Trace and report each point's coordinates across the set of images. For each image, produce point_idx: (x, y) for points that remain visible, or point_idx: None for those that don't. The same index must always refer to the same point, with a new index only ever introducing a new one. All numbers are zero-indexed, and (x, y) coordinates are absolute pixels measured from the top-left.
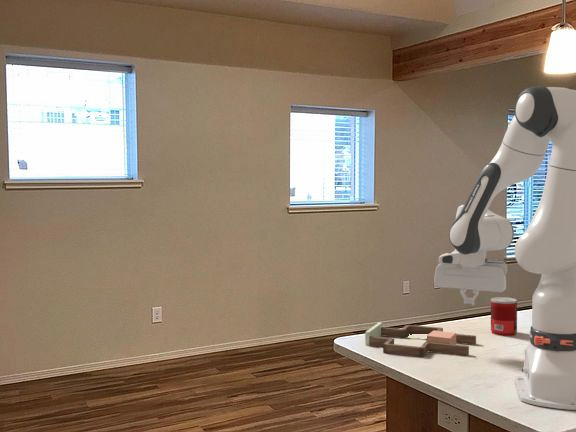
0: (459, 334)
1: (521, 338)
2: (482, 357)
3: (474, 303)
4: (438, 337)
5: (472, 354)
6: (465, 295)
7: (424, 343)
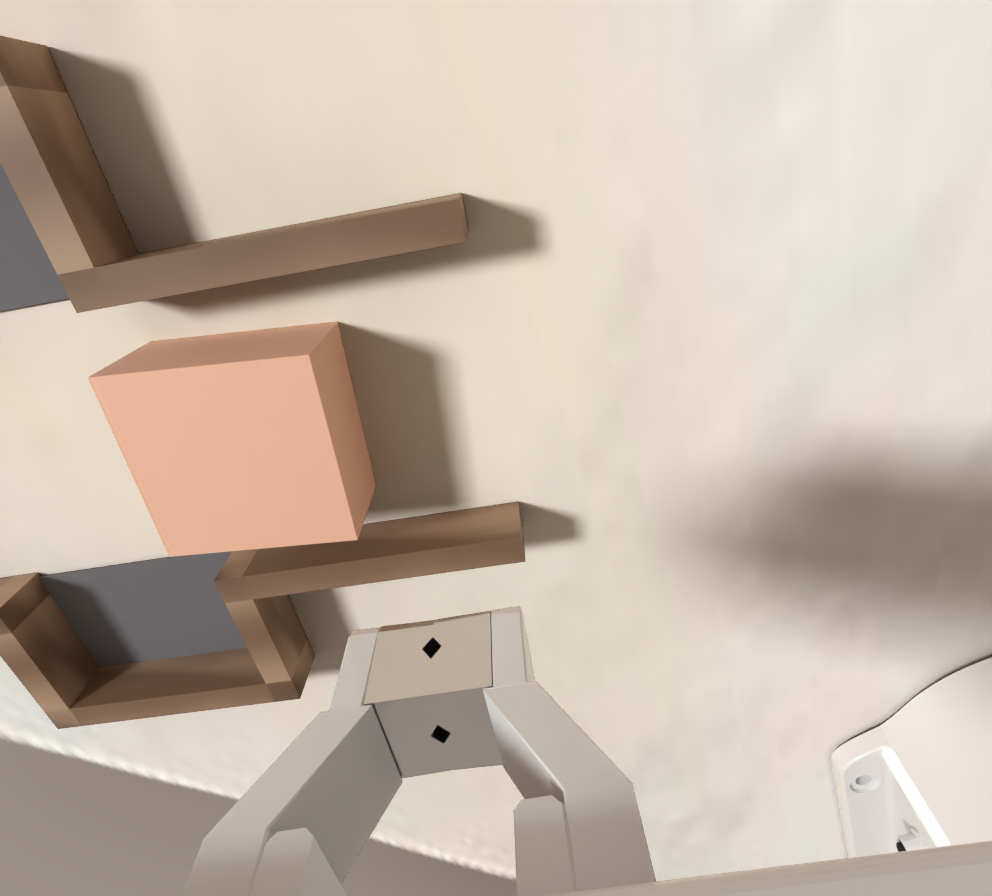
0: (299, 242)
1: None
2: (613, 514)
3: (525, 634)
4: (267, 545)
5: (537, 486)
6: (351, 783)
7: (237, 618)
